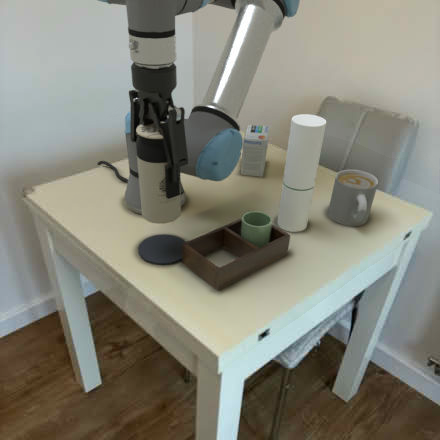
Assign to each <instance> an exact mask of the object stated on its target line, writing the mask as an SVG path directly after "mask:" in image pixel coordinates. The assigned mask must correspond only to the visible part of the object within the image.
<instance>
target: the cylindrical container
mask: <svg viewBox="0 0 440 440" xmlns="http://www.w3.org/2000/svg"><path fill="white" fill-rule="evenodd" d="M290 121H291V122H290V129H289V135H288V143H287V151H286V158H285V164H284V171H283V179H282V185H281V186H282V187H281V194H280V200H279V207H278V208H279V209H278V216H277V226H278V228H279V229H281V230H283V231H285V232H286V231H287V232H292V233H299V232H302V231H305V230H306V229H307V227H308V221H309V216H310V211H311V206H312V200H313V196H314V190H315V184H316V181H317V180H316V178H317V174H318V169H319V163H320V158H321V152H322V149H323V142H324V136H325V132H326V131H325V130H326V126H327V120H326V118H324V117H321V116H320V115H315V114H311V113H310V114H309V113H301V114H295V115H293V116H292V117H291V120H290Z"/></svg>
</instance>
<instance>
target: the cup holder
mask: <svg viewBox="0 0 440 440" xmlns="http://www.w3.org/2000/svg"><path fill="white" fill-rule="evenodd" d="M241 221H242V217H241V218H239V219H236V220H234V221H232V222H229V223H228V224H227V223H226V224H225V225H223V226H220V227H218V228H216V229H214V230H211V231H208V232H206V233H204V234H202V235H199V236H196V237H194V238H193V239H190V240H188V241H186V242H185V243H183V244H182V260H181V261H182V262H181V263H182V265H184V266H185V267H186V268H188V269H189V270H190V271H191V272H193V273H194V274H195V275H197V276H198V277H199V278H201V280H203V281H204V282H205V283H207V284H208V285H209V286H211V287H212V288H213V289H215V290H216V291H217V292H218V291H220V290H222V289H224V288H226V287H228V286H230V285H231V284H234V283H235V282H237V281H240V280H241V279H243V278H245V277H247V276H249V275H250V274H252V273H254V272H256V271H258V270H260V269H262V268H264V267H266V266H268V265H270V264H272V263H273V262H275V261H277V260H279V259H281V258H282V257H285V256H287V255H288V253H289V248H290V247H289V246H290V241H291V234H289V233H287V232H286V231H285V230H283V229H282V228H280V227H277V226H276V225H274V224H272V228H271V236H270V243H268V244H266V245H264V246H262V247H260V248H258V247H256V246H255V245H253V244H252V243H250V242H249V241H247V240H246V239H244V238H242V237H241V236H240V233H241ZM222 248H223V249H225V250H226V251H228V252H229V253H231V254H233V256H235V257H237V258H236V259H234V260H232V261H229V262H228V263H225V264H223V265H222V266H217V265H216V264H215V263H214V262H212V261H211V260H209V259H208V258H207V257H205V256H207V255H209V254H212V253H214V252H216V251H218V250H220V249H222Z"/></svg>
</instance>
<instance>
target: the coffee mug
mask: <svg viewBox="0 0 440 440" xmlns="http://www.w3.org/2000/svg"><path fill="white" fill-rule="evenodd" d="M378 184H379V181H378V178H377V177H376V176H375V175H373V174H372V173H370V172H367V171H363V170H359V169H344V170H340V171H338V172H337V173H336V174H335V178H334V182H333V187H332V192H331V196H330V201H329V205H328V209H327V215H328V218H330V219H331V220H332V221H334V222H335V223H337V224H340V225H344V226H348V227H358V226H363V225H365V224H366V223H367V222H368V220H369V217H370V213H371V209H372V207H373V202H374V199H375V195H376V192H377V189H378V186H379V185H378Z"/></svg>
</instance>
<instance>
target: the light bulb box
mask: <svg viewBox="0 0 440 440" xmlns="http://www.w3.org/2000/svg"><path fill="white" fill-rule="evenodd" d="M269 135H270V126H267V125H254V124H247V125H246V128H245V133H244V135H243V136H244V137H243V138H242V139H243V146H242V150H241V165H240V166H241V167H240V175H241V176H242V175H243V176H253V177H260V178H261V177H262V178H263V177H264V173H265V166H266V160H267V153H268V152H267V151H268V143H269V137H270V136H269Z"/></svg>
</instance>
